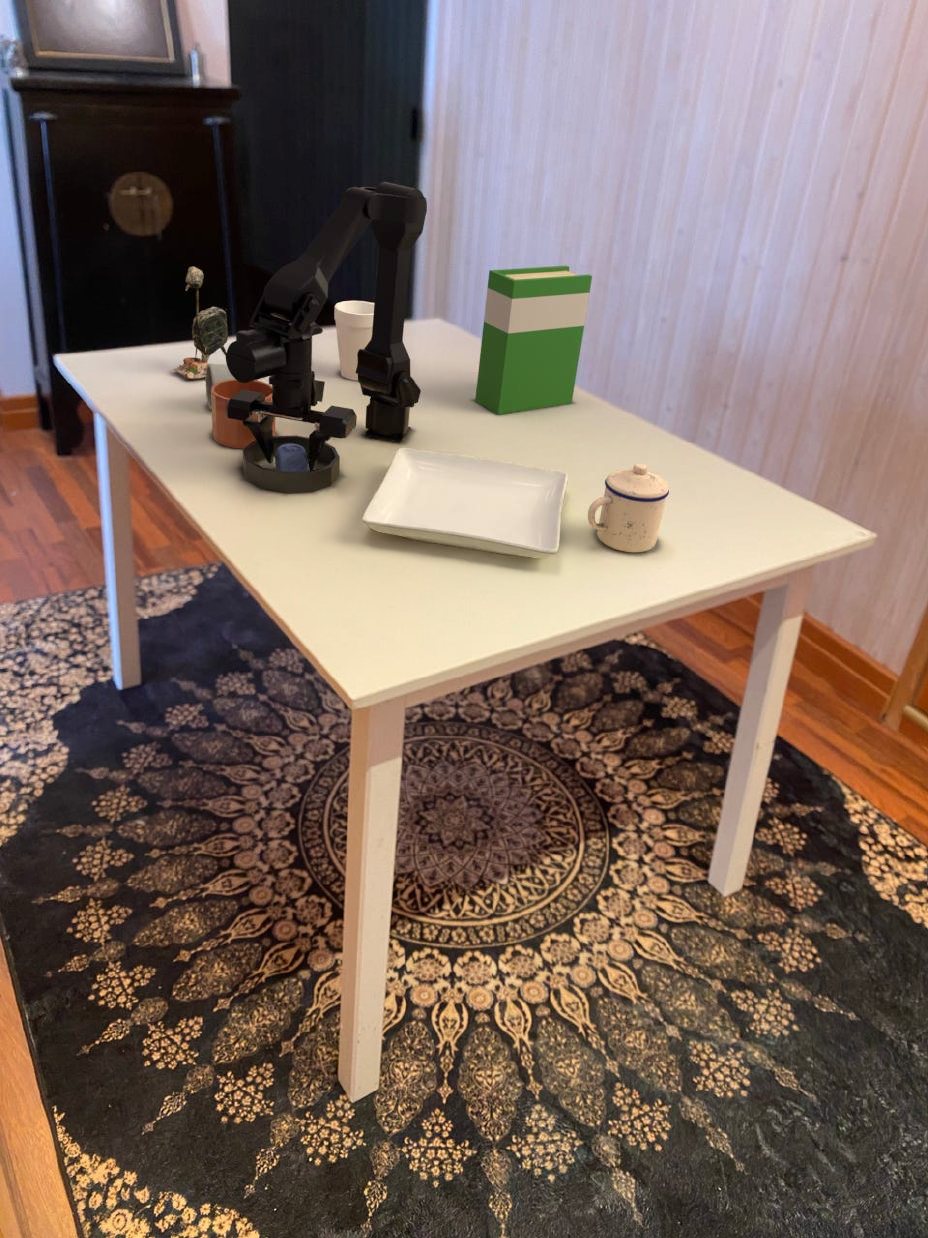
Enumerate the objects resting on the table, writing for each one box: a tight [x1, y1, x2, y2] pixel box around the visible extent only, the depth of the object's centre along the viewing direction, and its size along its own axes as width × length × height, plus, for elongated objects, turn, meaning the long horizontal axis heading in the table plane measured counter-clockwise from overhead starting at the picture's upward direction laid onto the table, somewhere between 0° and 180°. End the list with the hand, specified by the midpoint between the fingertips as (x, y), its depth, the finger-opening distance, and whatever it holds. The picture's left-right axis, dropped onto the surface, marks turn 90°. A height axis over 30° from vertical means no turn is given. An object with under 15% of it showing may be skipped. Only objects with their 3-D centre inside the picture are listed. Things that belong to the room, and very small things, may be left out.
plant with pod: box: [172, 266, 229, 380], centre depth 184 cm, size 8×11×20 cm
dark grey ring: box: [242, 434, 341, 494], centre depth 155 cm, size 14×14×3 cm
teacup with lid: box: [587, 463, 670, 553], centre depth 144 cm, size 12×9×12 cm
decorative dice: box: [274, 444, 309, 472], centre depth 154 cm, size 4×4×4 cm
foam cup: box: [333, 300, 374, 381], centre depth 193 cm, size 10×9×13 cm
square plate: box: [361, 447, 569, 559], centre depth 148 cm, size 27×27×4 cm
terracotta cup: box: [211, 379, 276, 450], centre depth 163 cm, size 10×10×8 cm
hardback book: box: [474, 265, 593, 415], centre depth 186 cm, size 18×7×24 cm, turn 124°
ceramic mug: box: [205, 363, 259, 411], centre depth 175 cm, size 11×8×8 cm
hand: (291, 466), depth 155 cm, fingers open, 6 cm apart
